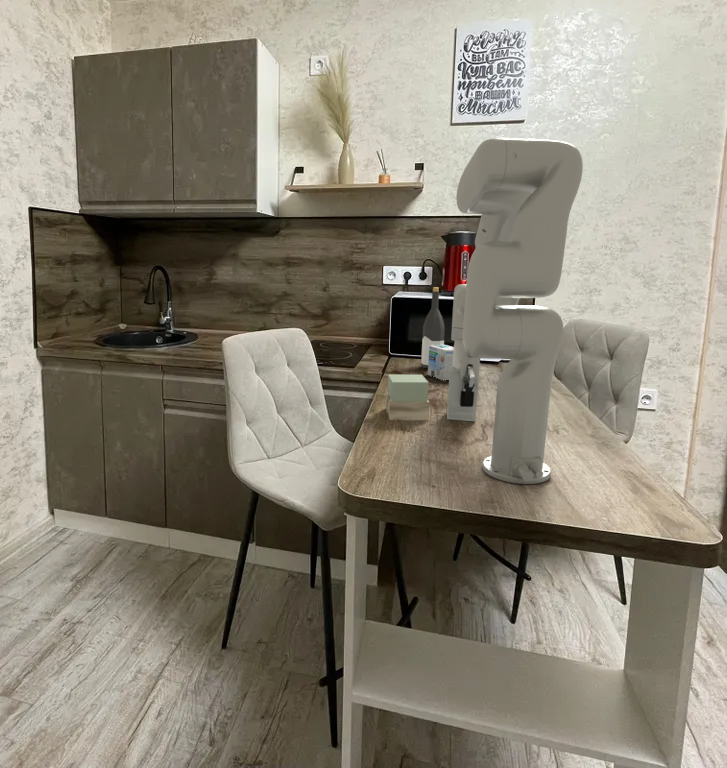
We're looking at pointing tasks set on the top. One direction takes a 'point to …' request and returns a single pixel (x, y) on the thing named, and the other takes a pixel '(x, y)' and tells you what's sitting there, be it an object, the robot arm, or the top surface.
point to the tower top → (407, 388)
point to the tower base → (407, 410)
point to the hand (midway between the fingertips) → (462, 401)
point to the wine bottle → (432, 329)
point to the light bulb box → (440, 361)
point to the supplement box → (454, 399)
